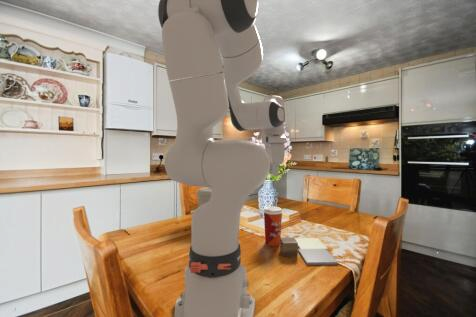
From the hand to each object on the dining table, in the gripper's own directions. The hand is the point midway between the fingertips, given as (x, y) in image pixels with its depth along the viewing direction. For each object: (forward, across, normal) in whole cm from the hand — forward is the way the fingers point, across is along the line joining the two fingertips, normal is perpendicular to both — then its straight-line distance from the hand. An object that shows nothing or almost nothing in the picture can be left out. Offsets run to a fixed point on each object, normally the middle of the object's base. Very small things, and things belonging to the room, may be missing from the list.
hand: (272, 174), depth 88 cm
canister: (+28, -25, -25) cm, 45 cm away
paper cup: (+27, 0, 0) cm, 27 cm away
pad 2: (+27, +12, +13) cm, 33 cm away
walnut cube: (+27, +9, +4) cm, 29 cm away
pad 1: (+27, +2, +14) cm, 31 cm away
